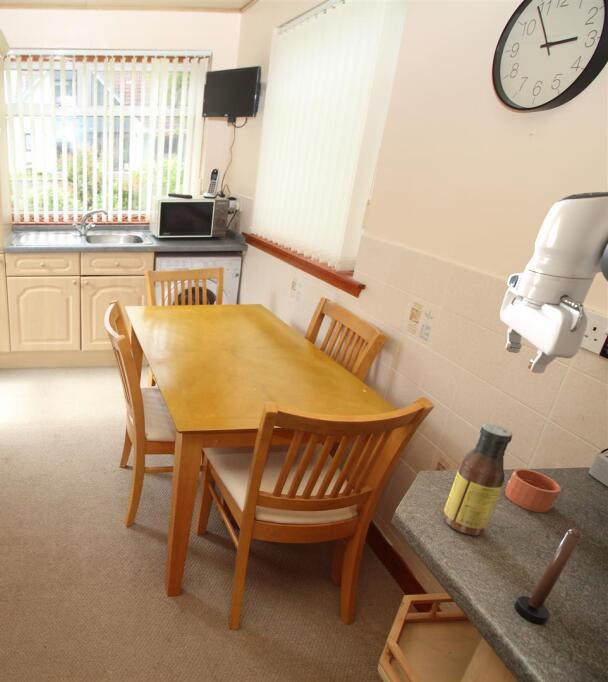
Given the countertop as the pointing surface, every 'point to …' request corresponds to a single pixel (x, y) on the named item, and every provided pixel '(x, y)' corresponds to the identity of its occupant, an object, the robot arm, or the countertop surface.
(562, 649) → the countertop surface
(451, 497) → the sauce bottle
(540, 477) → the bowl
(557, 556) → the toilet plunger
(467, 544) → the countertop surface
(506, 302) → the robot arm
